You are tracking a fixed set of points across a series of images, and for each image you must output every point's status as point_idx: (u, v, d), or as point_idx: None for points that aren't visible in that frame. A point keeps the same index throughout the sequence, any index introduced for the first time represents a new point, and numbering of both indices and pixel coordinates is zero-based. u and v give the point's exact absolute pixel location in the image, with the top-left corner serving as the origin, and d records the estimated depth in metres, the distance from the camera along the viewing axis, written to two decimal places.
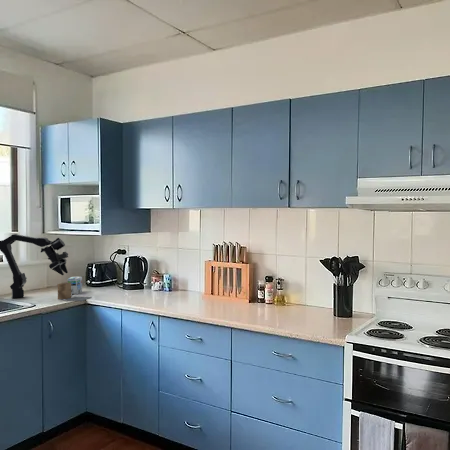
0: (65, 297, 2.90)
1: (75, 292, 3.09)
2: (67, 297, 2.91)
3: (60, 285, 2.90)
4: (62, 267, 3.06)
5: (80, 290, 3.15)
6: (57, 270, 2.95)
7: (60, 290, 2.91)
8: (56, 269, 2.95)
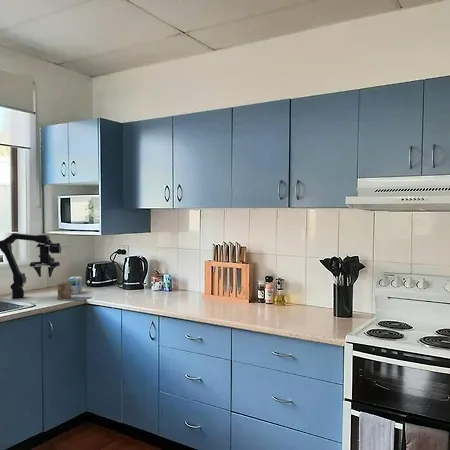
0: (65, 297, 2.90)
1: (75, 292, 3.09)
2: (67, 297, 2.91)
3: (60, 285, 2.90)
4: (39, 269, 3.01)
5: (80, 290, 3.15)
6: (50, 270, 2.99)
7: (60, 290, 2.91)
8: (50, 269, 2.99)
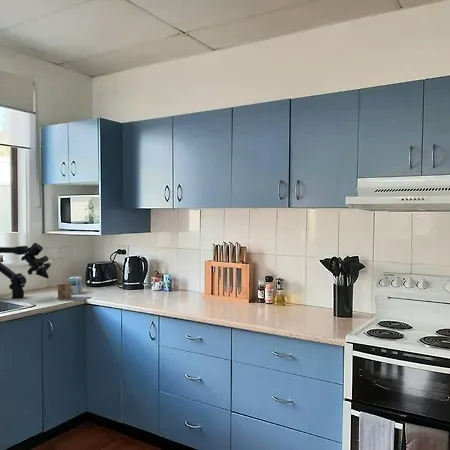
0: (65, 297, 2.90)
1: (75, 292, 3.09)
2: (67, 297, 2.91)
3: (60, 285, 2.90)
4: None
5: (80, 290, 3.15)
6: (41, 274, 2.94)
7: (60, 290, 2.91)
8: (40, 273, 2.94)
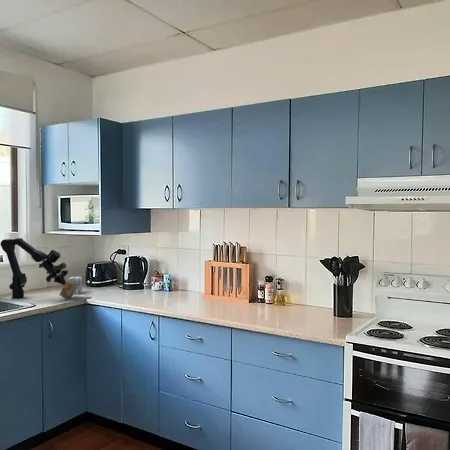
0: (66, 297, 2.90)
1: (75, 292, 3.09)
2: (68, 297, 2.91)
3: (68, 284, 2.89)
4: None
5: (80, 290, 3.15)
6: (59, 281, 2.92)
7: (65, 288, 2.90)
8: (58, 280, 2.92)
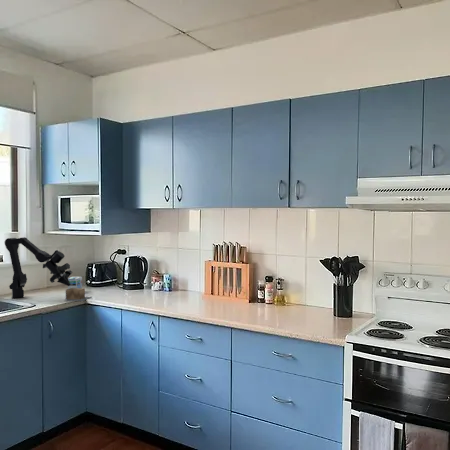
0: (67, 298, 2.90)
1: None
2: (68, 298, 2.91)
3: (78, 293, 2.88)
4: None
5: None
6: (63, 282, 2.92)
7: (73, 292, 2.89)
8: (62, 281, 2.92)
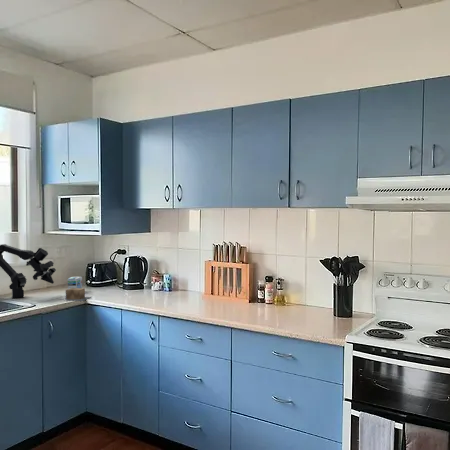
0: (67, 298, 2.90)
1: None
2: (68, 298, 2.91)
3: (78, 293, 2.88)
4: None
5: None
6: (46, 279, 2.94)
7: (73, 292, 2.89)
8: (45, 278, 2.94)
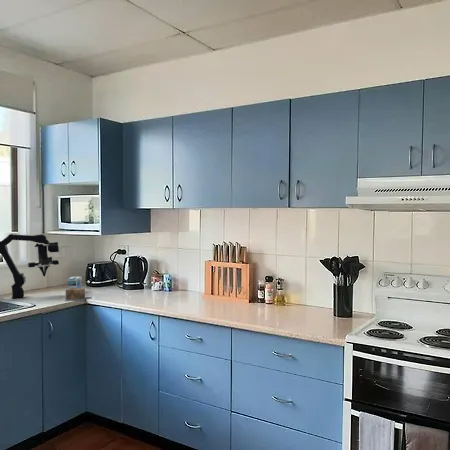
0: (67, 298, 2.90)
1: None
2: (68, 298, 2.91)
3: (78, 293, 2.88)
4: (44, 269, 3.05)
5: None
6: (41, 270, 3.04)
7: (73, 292, 2.89)
8: None
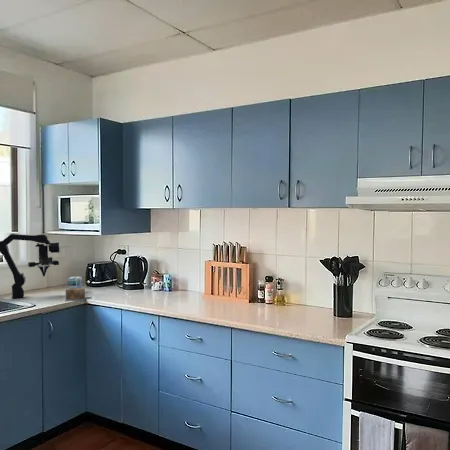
0: (67, 298, 2.90)
1: None
2: (68, 298, 2.91)
3: (78, 293, 2.88)
4: (44, 269, 3.05)
5: None
6: (41, 269, 3.04)
7: (73, 292, 2.89)
8: None
